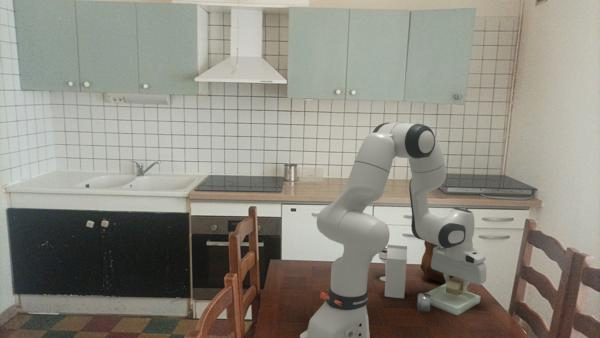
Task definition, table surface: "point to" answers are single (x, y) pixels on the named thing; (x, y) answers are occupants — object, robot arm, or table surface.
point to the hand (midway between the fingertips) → (455, 287)
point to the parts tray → (452, 300)
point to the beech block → (454, 286)
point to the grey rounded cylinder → (423, 302)
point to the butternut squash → (427, 264)
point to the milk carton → (395, 271)
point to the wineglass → (383, 260)
